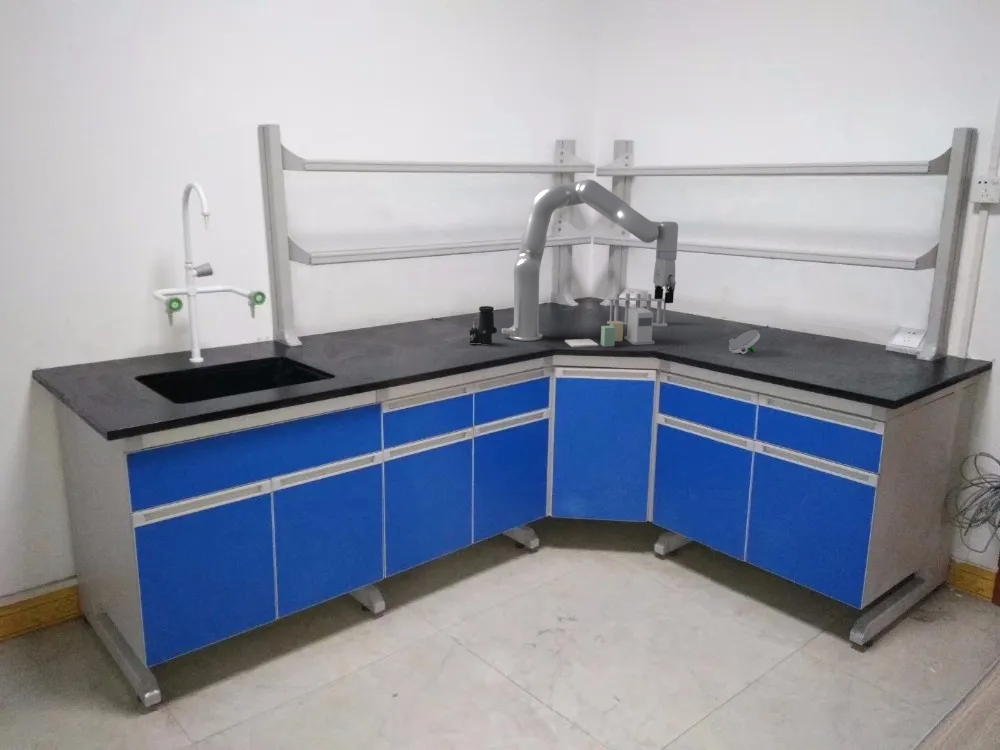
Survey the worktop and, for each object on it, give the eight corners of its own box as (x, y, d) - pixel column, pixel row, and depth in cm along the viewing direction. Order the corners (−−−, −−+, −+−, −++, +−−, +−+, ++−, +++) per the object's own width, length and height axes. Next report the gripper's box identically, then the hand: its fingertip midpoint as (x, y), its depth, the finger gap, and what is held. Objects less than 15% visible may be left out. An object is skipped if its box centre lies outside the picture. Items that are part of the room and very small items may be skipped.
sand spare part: (612, 341, 295) (613, 323, 293) (608, 339, 298) (609, 321, 297) (622, 340, 295) (623, 323, 293) (618, 338, 299) (619, 321, 297)
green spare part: (604, 346, 286) (604, 328, 284) (600, 344, 290) (601, 325, 288) (614, 346, 287) (615, 327, 285) (610, 343, 290) (611, 325, 289)
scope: (472, 304, 291) (498, 305, 289) (472, 340, 295) (498, 341, 293) (468, 308, 283) (494, 309, 282) (468, 345, 287) (494, 346, 285)
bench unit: (634, 344, 289) (635, 313, 285) (624, 338, 299) (625, 308, 296) (654, 344, 290) (656, 312, 287) (643, 337, 300) (645, 307, 297)
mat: (572, 347, 284) (572, 345, 284) (564, 341, 294) (564, 339, 294) (598, 346, 286) (598, 344, 286) (589, 340, 296) (589, 338, 296)
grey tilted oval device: (722, 345, 284) (740, 320, 282) (740, 356, 285) (758, 331, 283) (734, 355, 270) (753, 328, 267) (752, 366, 271) (772, 340, 268)
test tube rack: (607, 324, 326) (608, 293, 323) (607, 322, 331) (608, 292, 327) (667, 326, 323) (669, 295, 320) (666, 324, 327) (668, 293, 324)
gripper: (647, 253, 295) (645, 297, 300) (666, 258, 279) (663, 305, 283) (666, 252, 297) (663, 297, 301) (685, 257, 280) (682, 304, 285)
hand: (663, 300), depth 292 cm, fingers open, 9 cm apart
